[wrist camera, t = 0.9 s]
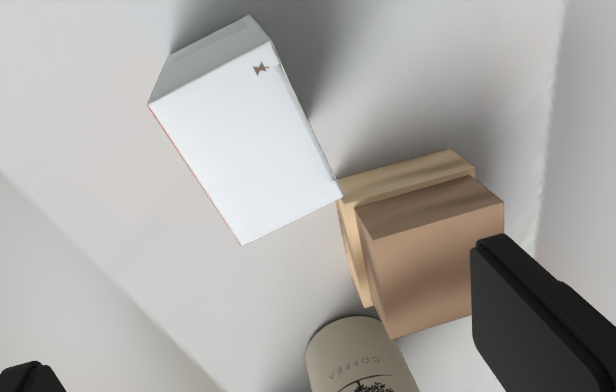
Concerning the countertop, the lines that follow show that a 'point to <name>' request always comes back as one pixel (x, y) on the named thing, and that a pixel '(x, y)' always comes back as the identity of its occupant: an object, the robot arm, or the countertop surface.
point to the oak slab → (388, 185)
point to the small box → (243, 130)
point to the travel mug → (357, 359)
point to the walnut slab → (425, 251)
